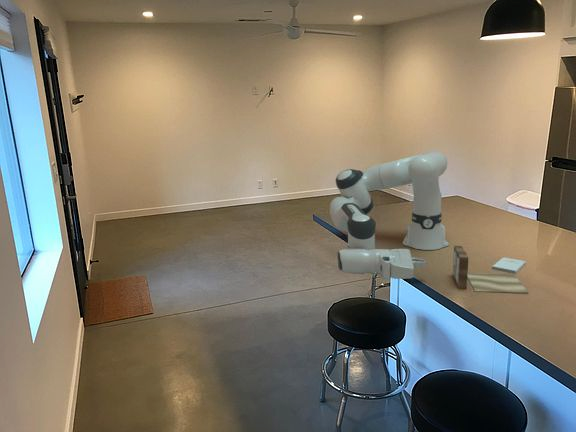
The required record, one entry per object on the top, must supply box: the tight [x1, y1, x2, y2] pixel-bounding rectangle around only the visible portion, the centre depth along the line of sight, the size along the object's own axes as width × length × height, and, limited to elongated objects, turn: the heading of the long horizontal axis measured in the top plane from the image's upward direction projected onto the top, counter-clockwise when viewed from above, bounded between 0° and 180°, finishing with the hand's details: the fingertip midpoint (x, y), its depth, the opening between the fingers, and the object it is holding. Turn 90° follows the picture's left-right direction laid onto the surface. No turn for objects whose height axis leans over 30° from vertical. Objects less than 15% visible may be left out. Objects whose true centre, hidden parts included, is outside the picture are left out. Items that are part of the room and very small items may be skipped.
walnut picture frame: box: [452, 245, 469, 290], centre depth 158 cm, size 12×3×11 cm, turn 170°
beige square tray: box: [467, 272, 529, 295], centre depth 157 cm, size 16×16×1 cm
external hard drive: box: [491, 257, 527, 275], centre depth 172 cm, size 2×8×12 cm
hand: (425, 263), depth 160 cm, fingers closed
